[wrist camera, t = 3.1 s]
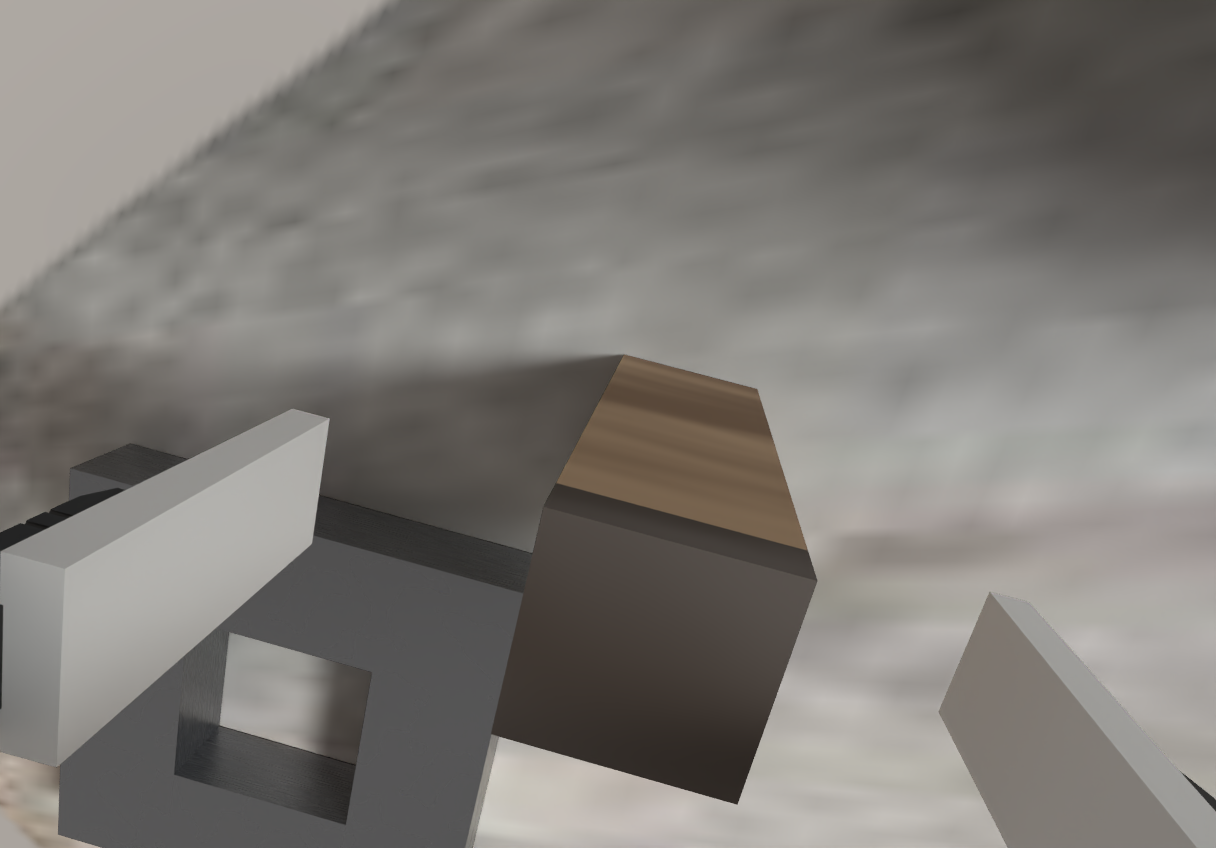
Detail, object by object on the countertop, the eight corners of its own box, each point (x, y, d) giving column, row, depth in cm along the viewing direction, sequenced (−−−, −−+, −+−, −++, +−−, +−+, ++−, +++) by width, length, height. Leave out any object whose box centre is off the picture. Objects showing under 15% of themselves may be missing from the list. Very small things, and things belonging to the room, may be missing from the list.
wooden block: (624, 354, 22) (543, 506, 11) (757, 389, 22) (817, 580, 11) (593, 478, 24) (490, 734, 12) (719, 512, 23) (737, 804, 12)
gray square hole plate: (130, 443, 25) (69, 468, 23) (541, 556, 24) (524, 593, 22) (110, 783, 29) (58, 834, 27) (463, 887, 28) (441, 949, 26)
